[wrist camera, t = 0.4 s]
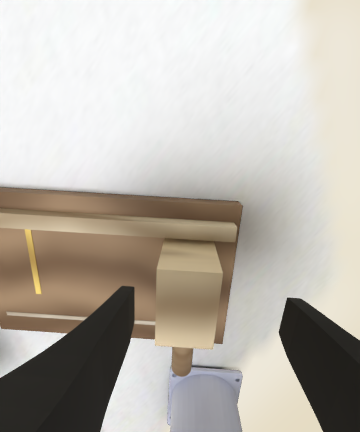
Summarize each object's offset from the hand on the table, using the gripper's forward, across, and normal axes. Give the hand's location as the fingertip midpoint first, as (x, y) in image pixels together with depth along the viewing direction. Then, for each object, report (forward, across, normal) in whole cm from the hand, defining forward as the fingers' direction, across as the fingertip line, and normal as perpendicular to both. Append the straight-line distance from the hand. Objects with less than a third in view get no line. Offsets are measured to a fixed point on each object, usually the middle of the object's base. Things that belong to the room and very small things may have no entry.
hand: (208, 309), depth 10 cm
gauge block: (+8, +1, +5) cm, 9 cm away
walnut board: (+9, +8, +4) cm, 13 cm away
